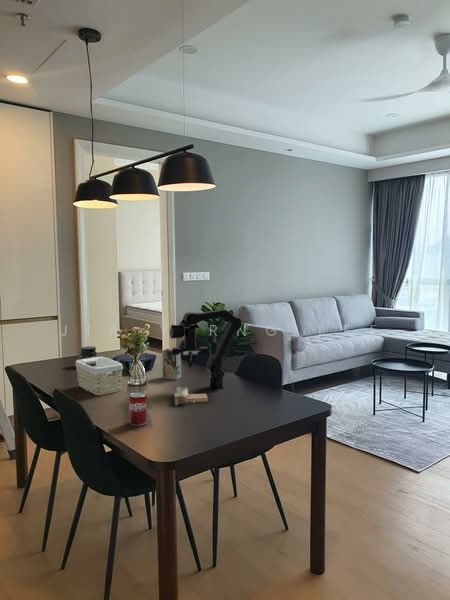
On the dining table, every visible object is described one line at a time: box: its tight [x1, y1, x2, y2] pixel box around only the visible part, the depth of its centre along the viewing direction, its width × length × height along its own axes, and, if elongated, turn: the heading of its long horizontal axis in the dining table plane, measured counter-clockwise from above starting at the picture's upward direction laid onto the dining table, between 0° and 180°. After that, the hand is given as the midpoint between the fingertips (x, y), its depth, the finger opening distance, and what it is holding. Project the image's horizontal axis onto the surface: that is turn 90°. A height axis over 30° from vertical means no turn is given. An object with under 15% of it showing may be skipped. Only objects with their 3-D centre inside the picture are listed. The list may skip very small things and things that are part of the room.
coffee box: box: [162, 348, 182, 381], centre depth 262 cm, size 9×6×16 cm
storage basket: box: [75, 356, 123, 396], centre depth 239 cm, size 24×16×15 cm
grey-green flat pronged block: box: [173, 386, 196, 406], centre depth 221 cm, size 9×15×4 cm, turn 7°
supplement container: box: [79, 345, 98, 367], centre depth 291 cm, size 10×10×12 cm
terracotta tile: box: [178, 393, 209, 403], centre depth 221 cm, size 14×7×2 cm, turn 100°
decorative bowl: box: [110, 352, 158, 374], centre depth 283 cm, size 26×28×10 cm
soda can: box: [128, 392, 148, 427], centre depth 190 cm, size 7×7×12 cm
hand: (190, 367), depth 238 cm, fingers closed
